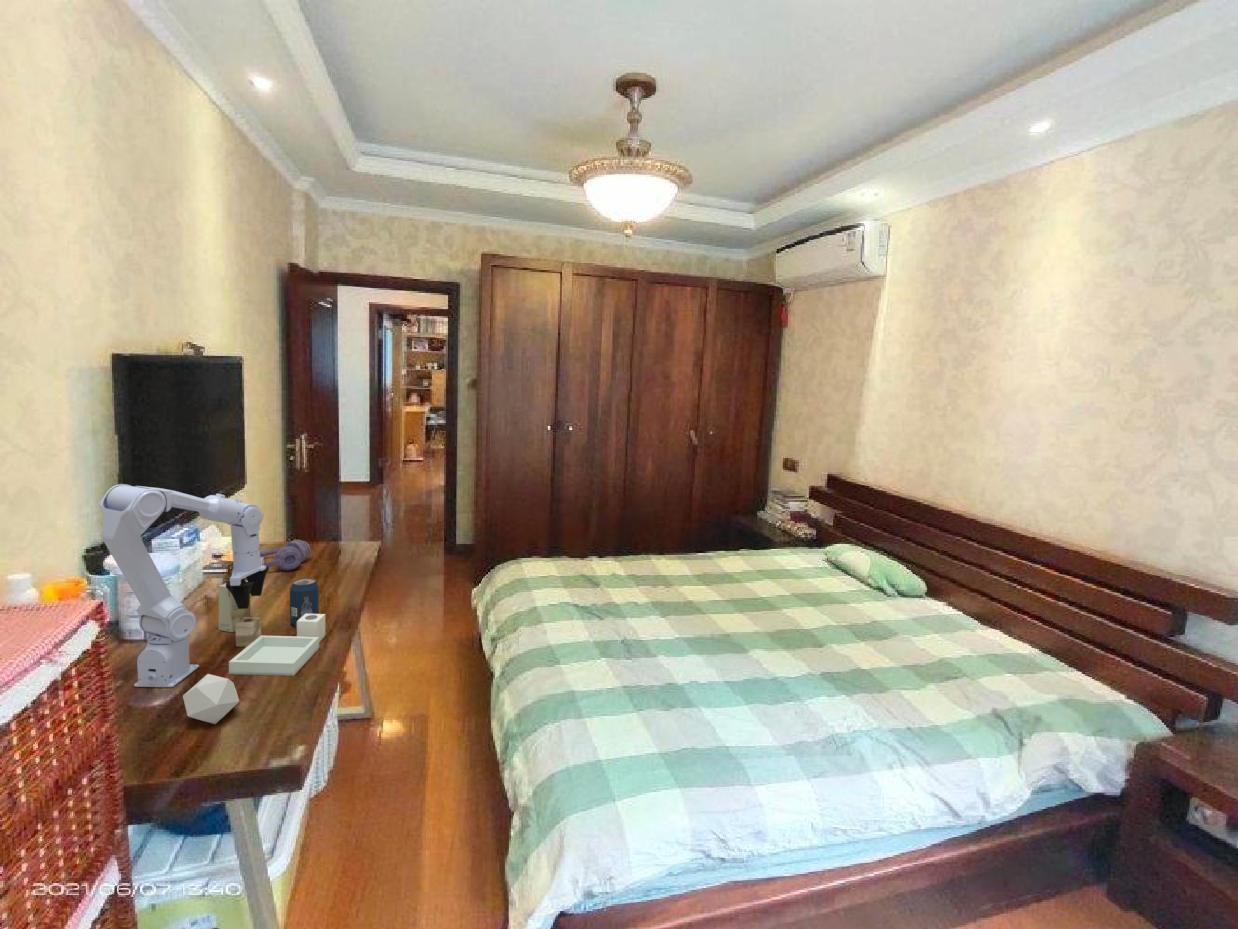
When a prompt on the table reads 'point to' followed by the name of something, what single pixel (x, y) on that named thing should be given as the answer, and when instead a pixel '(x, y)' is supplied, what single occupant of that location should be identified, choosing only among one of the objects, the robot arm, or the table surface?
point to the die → (210, 698)
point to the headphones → (288, 555)
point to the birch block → (247, 630)
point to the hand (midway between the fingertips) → (249, 601)
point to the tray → (274, 656)
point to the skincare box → (229, 610)
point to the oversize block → (311, 626)
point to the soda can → (303, 598)
